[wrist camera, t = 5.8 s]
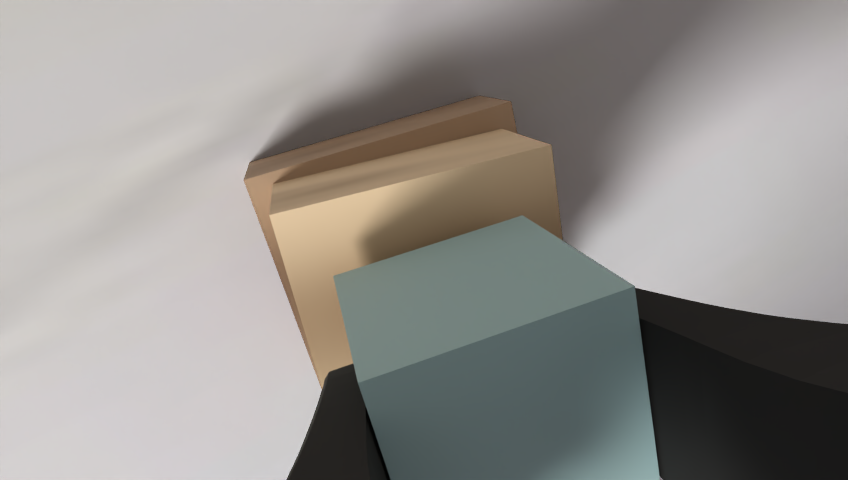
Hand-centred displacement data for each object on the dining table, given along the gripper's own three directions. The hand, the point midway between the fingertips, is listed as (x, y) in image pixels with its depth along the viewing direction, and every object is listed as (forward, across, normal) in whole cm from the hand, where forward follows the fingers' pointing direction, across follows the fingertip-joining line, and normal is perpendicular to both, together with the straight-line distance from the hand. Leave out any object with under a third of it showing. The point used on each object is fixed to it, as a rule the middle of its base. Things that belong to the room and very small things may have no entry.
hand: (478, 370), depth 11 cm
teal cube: (+2, 0, 0) cm, 2 cm away
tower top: (+5, 0, 0) cm, 5 cm away
